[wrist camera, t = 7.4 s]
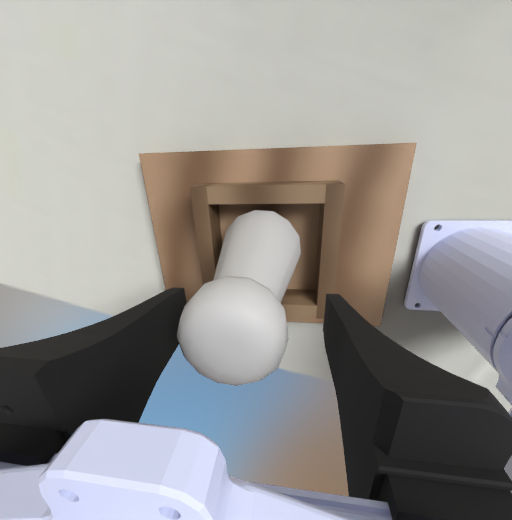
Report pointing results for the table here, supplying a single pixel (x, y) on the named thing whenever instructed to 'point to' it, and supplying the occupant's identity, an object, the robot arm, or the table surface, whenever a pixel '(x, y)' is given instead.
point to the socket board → (286, 216)
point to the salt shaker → (243, 302)
